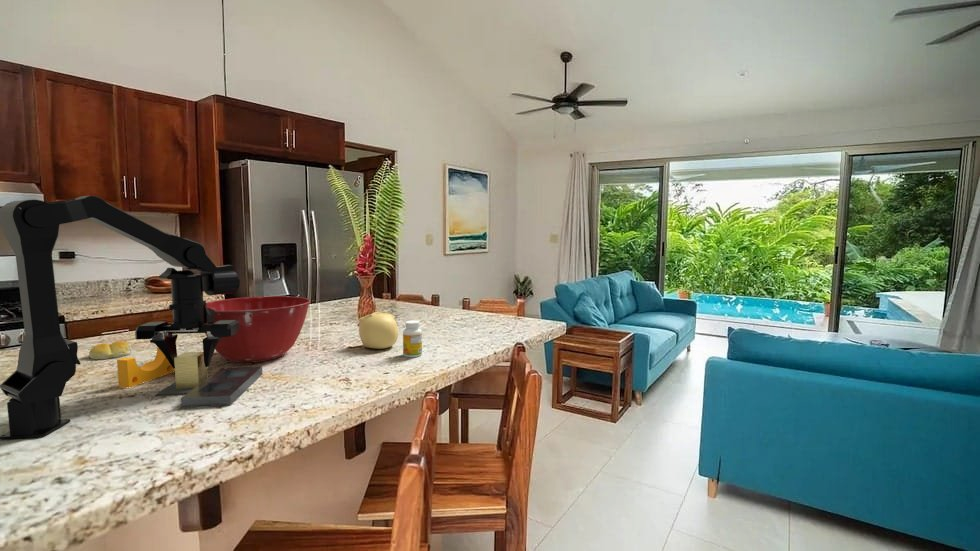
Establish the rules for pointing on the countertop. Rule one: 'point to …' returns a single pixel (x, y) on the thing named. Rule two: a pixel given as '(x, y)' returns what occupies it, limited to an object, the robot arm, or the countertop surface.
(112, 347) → the bread roll
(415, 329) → the supplement bottle
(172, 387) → the mat
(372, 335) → the pale yellow melon
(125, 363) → the pipe clamp
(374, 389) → the countertop surface
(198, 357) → the pale yellow block
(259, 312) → the mixing bowl
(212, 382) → the gray slotted plate
